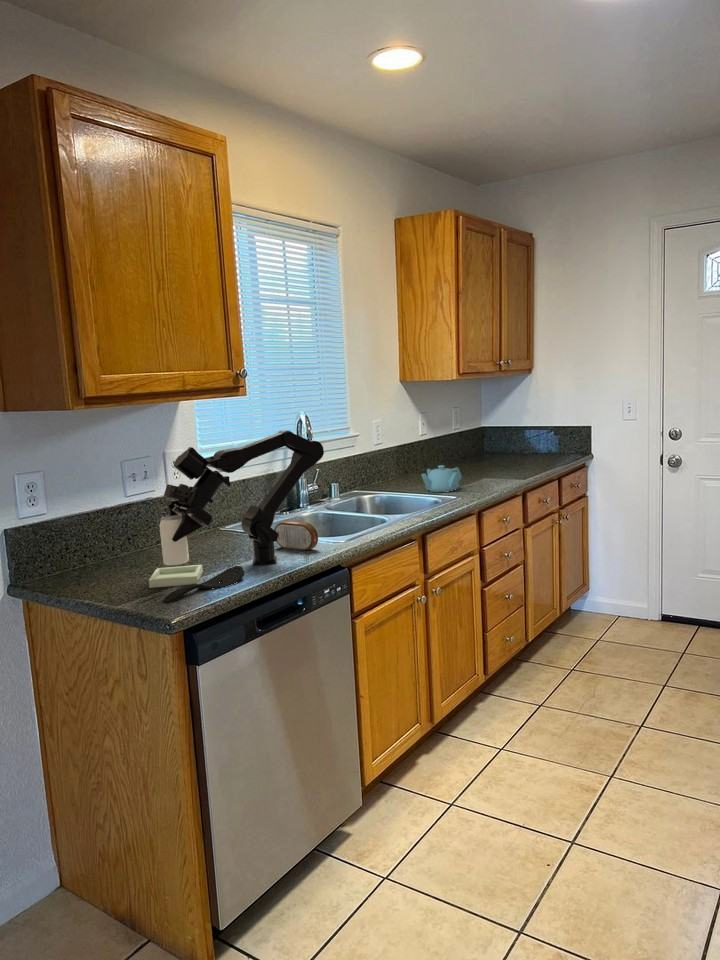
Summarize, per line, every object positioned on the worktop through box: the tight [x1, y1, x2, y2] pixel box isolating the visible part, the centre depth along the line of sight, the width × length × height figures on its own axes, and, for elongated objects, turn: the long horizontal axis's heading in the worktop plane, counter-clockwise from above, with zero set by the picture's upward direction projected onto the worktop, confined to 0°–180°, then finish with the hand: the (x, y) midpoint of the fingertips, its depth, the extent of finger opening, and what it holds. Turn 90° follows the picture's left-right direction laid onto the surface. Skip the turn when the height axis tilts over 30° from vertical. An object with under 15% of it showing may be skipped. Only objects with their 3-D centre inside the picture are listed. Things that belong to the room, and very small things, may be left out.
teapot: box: [421, 464, 463, 491], centre depth 312 cm, size 15×15×11 cm
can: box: [159, 515, 190, 567], centre depth 192 cm, size 6×6×12 cm
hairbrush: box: [162, 562, 245, 604], centre depth 182 cm, size 8×4×25 cm
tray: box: [148, 564, 204, 589], centre depth 193 cm, size 12×12×2 cm
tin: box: [273, 519, 319, 551], centre depth 220 cm, size 15×3×8 cm, turn 56°
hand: (168, 539), depth 191 cm, fingers closed on can, 6 cm apart
